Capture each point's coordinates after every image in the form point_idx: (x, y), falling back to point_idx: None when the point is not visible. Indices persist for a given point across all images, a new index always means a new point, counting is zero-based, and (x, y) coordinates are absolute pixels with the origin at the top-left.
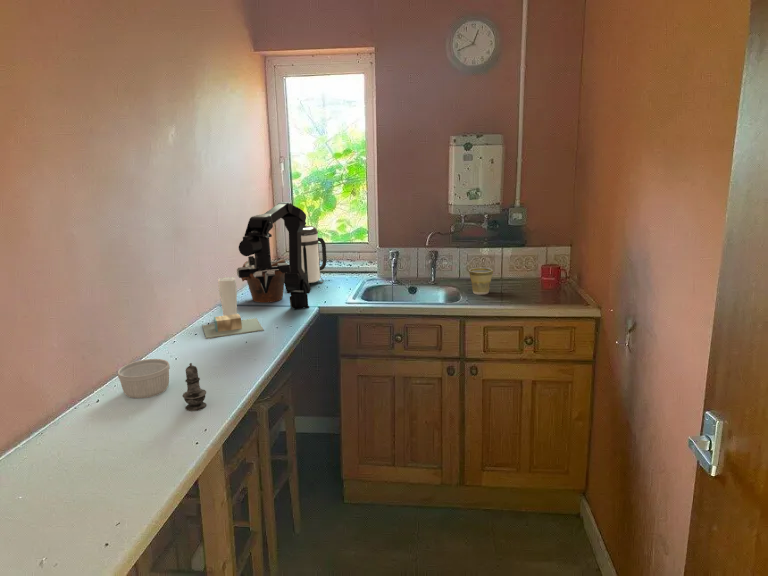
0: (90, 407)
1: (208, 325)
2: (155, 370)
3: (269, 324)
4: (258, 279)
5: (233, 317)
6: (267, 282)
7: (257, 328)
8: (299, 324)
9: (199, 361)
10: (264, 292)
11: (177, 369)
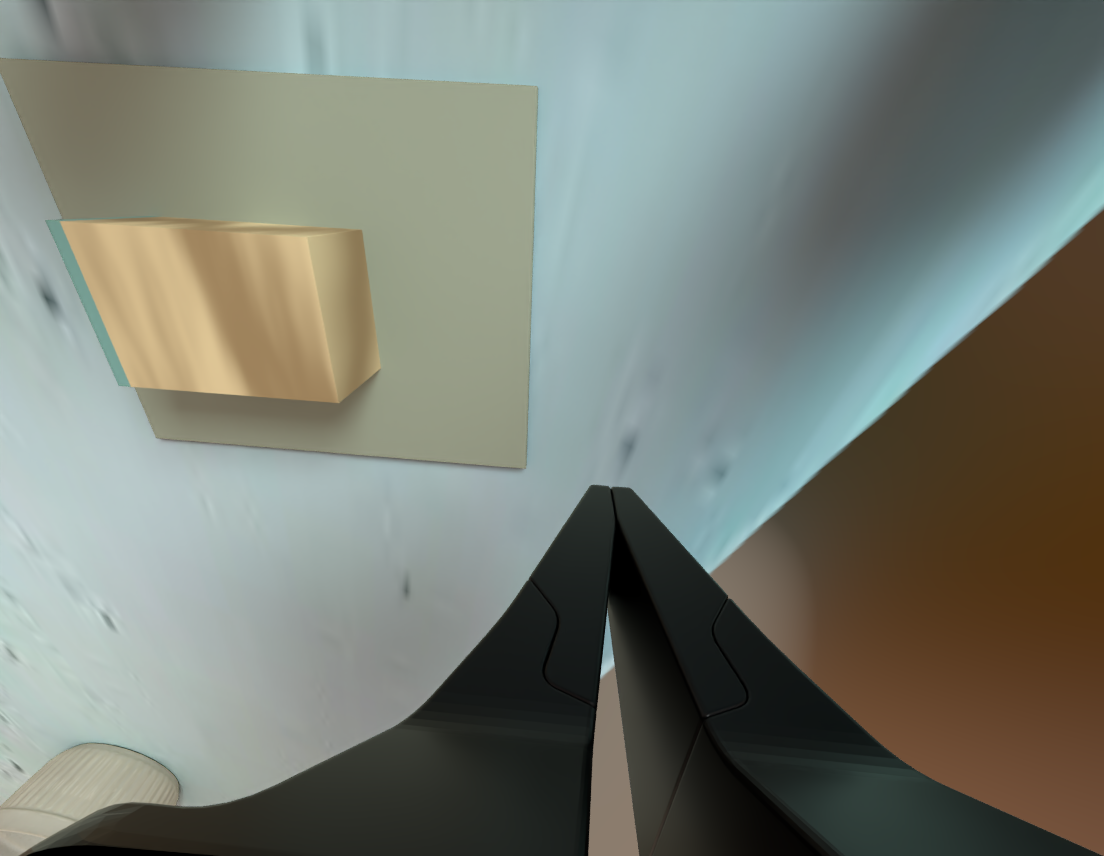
0: (22, 783)
1: (62, 102)
2: (92, 795)
3: (600, 347)
4: (429, 715)
5: (267, 354)
6: (645, 808)
7: (489, 428)
8: (790, 463)
9: (220, 679)
10: (588, 491)
11: (158, 701)
